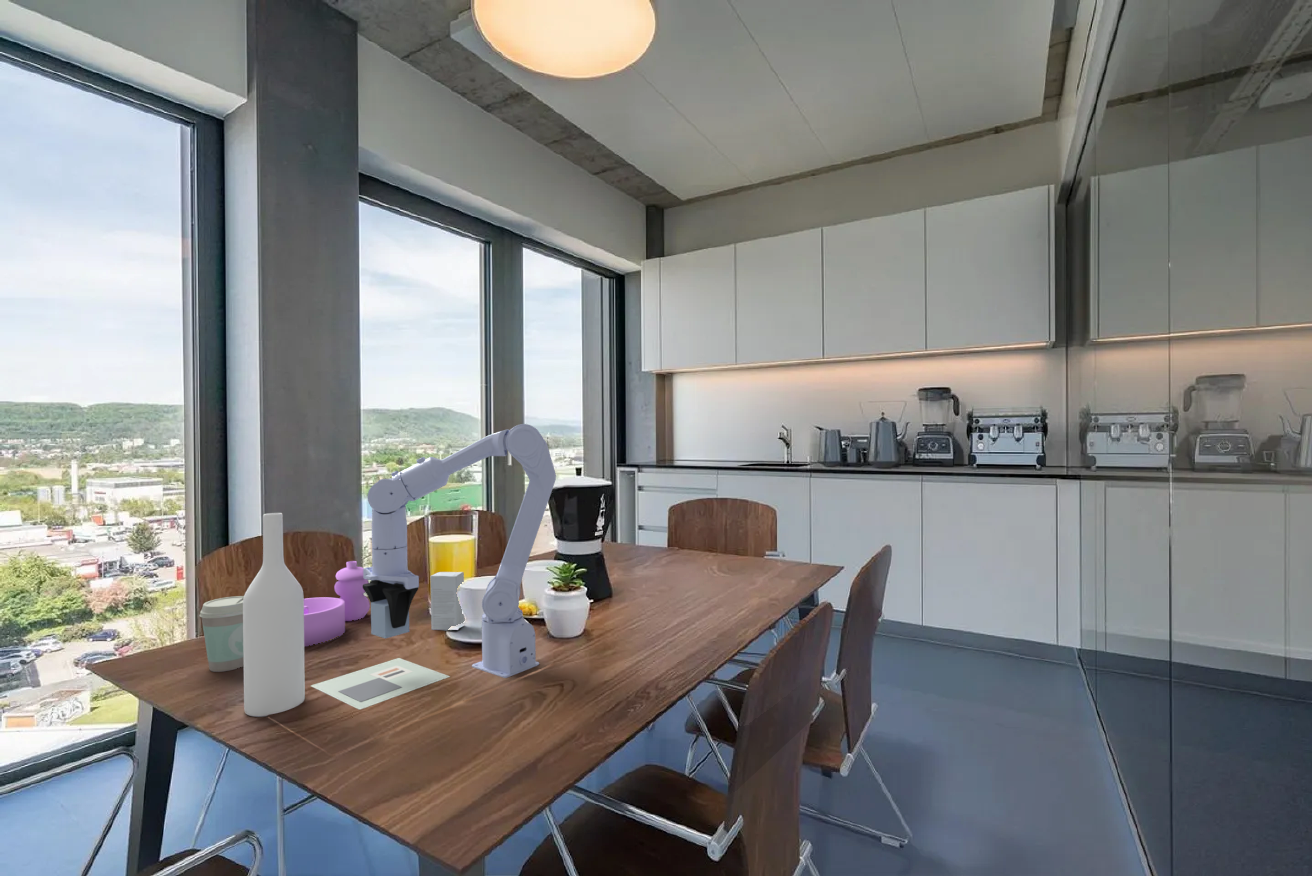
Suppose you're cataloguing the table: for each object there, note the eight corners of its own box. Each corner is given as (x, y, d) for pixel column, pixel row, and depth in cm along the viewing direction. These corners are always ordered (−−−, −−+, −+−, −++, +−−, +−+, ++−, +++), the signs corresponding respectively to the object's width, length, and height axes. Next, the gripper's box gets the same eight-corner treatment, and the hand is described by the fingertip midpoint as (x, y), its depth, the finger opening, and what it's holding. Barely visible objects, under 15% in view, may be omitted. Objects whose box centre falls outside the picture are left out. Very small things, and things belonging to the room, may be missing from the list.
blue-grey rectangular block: (409, 631, 110) (408, 600, 110) (385, 638, 106) (384, 606, 106) (395, 627, 112) (394, 597, 112) (371, 634, 109) (370, 602, 109)
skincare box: (465, 625, 138) (464, 571, 138) (457, 631, 133) (456, 576, 133) (439, 625, 138) (438, 571, 138) (430, 631, 134) (429, 575, 134)
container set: (304, 651, 122) (303, 584, 122) (243, 645, 126) (243, 580, 126) (390, 616, 146) (390, 560, 146) (337, 612, 151) (336, 557, 151)
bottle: (258, 722, 91) (256, 518, 91) (234, 709, 96) (232, 515, 96) (314, 702, 98) (312, 512, 98) (290, 691, 103) (287, 509, 103)
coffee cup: (228, 676, 109) (227, 608, 109) (187, 673, 111) (187, 606, 111) (267, 659, 118) (266, 596, 118) (229, 656, 120) (228, 594, 120)
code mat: (450, 678, 107) (450, 676, 107) (359, 711, 94) (359, 709, 94) (398, 659, 117) (398, 657, 117) (310, 687, 104) (310, 685, 104)
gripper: (346, 546, 110) (347, 622, 110) (391, 554, 102) (392, 637, 102) (383, 540, 116) (384, 613, 116) (429, 548, 107) (430, 626, 107)
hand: (390, 624), depth 109 cm, fingers closed on blue-grey rectangular block, 4 cm apart
